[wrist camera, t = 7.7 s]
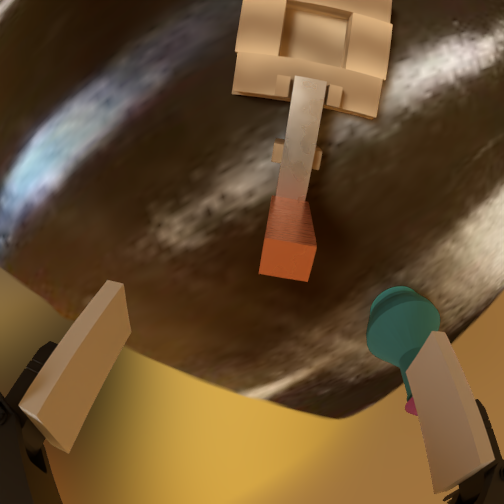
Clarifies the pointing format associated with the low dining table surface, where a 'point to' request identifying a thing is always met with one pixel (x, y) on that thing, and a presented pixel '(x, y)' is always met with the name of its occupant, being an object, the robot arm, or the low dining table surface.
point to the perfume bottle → (401, 330)
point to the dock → (314, 53)
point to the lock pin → (294, 188)
